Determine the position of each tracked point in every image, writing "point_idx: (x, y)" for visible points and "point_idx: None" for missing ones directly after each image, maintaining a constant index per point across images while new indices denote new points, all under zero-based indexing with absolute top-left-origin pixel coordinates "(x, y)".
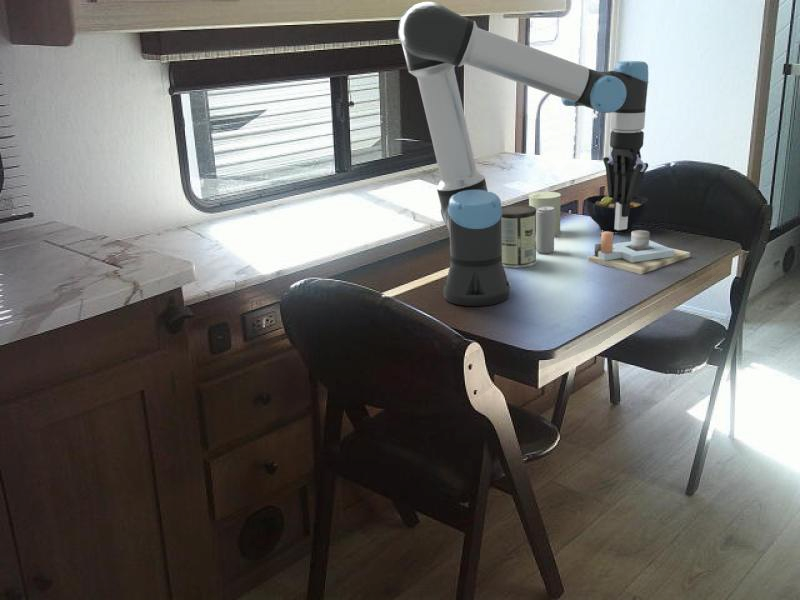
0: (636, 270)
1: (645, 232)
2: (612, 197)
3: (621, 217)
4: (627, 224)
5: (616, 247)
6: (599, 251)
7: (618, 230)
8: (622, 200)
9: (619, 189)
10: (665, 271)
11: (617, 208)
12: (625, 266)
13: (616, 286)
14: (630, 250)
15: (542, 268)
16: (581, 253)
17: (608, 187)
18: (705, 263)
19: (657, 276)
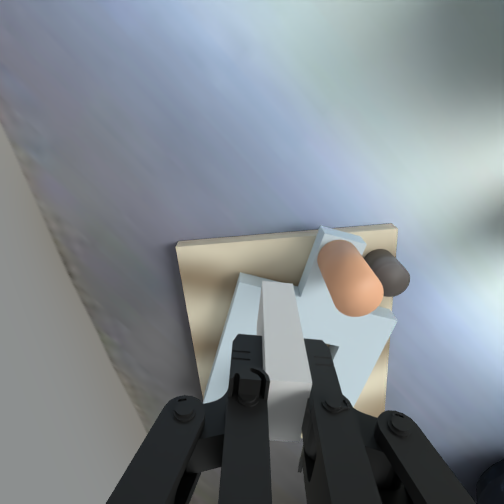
0: (195, 242)
1: None
2: (377, 423)
3: (261, 330)
4: (480, 498)
5: (349, 320)
6: (363, 248)
7: (494, 471)
8: (245, 401)
9: (323, 499)
10: (157, 309)
11: (288, 353)
12: (239, 241)
13: (127, 80)
14: None
15: (477, 25)
16: (465, 270)
17: (457, 493)
18: (147, 419)
19: (134, 260)
